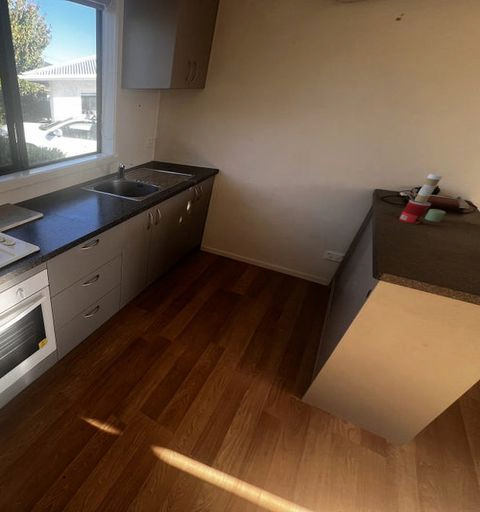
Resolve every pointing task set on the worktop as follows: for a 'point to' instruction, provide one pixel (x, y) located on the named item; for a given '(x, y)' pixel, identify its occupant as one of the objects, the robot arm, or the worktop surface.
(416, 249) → the worktop surface
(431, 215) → the green rounded block
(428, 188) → the sprinkles bottle
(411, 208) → the canned food
